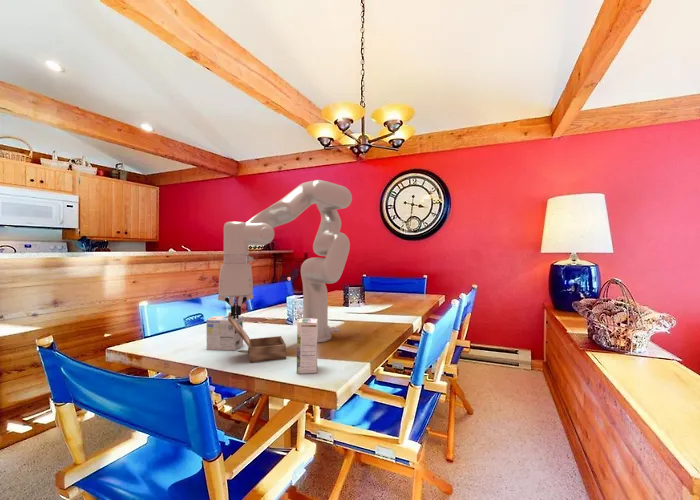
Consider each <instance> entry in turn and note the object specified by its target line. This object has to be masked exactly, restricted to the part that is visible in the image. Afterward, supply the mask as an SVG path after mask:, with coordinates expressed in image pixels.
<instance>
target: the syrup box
mask: <svg viewBox="0 0 700 500" xmlns="http://www.w3.org/2000/svg"><path fill="white" fill-rule="evenodd" d="M296 327H297V328H296V329H297V333H296V335H297V336H296V337H297V338H296V339H297V341H296V374H297V375H298V374H300V375H301V374H302V375H303V374H316V373H317V372H318V348H319V347H318V343H319V342H318V319H313V318H303V317H302V318H299V320H298V322H297V326H296Z"/></svg>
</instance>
